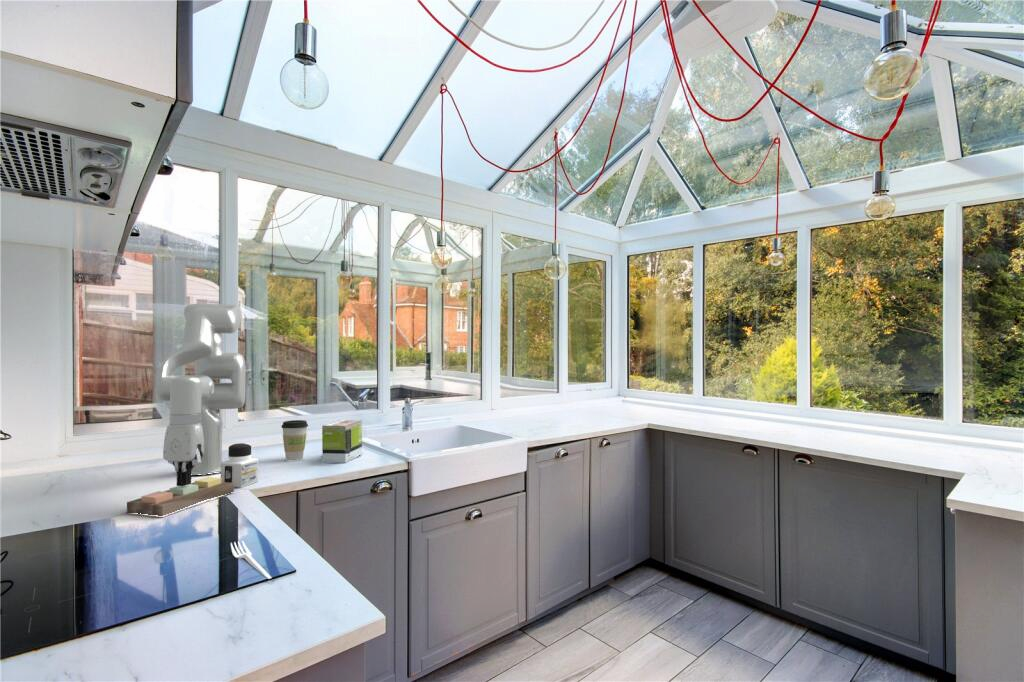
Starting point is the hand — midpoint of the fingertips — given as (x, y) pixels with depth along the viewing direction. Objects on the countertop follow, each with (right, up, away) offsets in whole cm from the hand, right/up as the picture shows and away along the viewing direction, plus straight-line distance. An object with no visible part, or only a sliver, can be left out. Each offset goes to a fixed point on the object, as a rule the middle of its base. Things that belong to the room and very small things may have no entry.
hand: (183, 484), depth 138 cm
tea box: (+25, -7, +58) cm, 63 cm away
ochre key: (+2, -4, +8) cm, 9 cm away
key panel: (0, -5, 0) cm, 5 cm away
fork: (+40, -5, -39) cm, 56 cm away
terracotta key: (-2, -3, -7) cm, 8 cm away
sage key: (0, -4, 0) cm, 4 cm away
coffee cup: (+6, -7, +57) cm, 57 cm away
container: (+5, -6, +20) cm, 21 cm away
